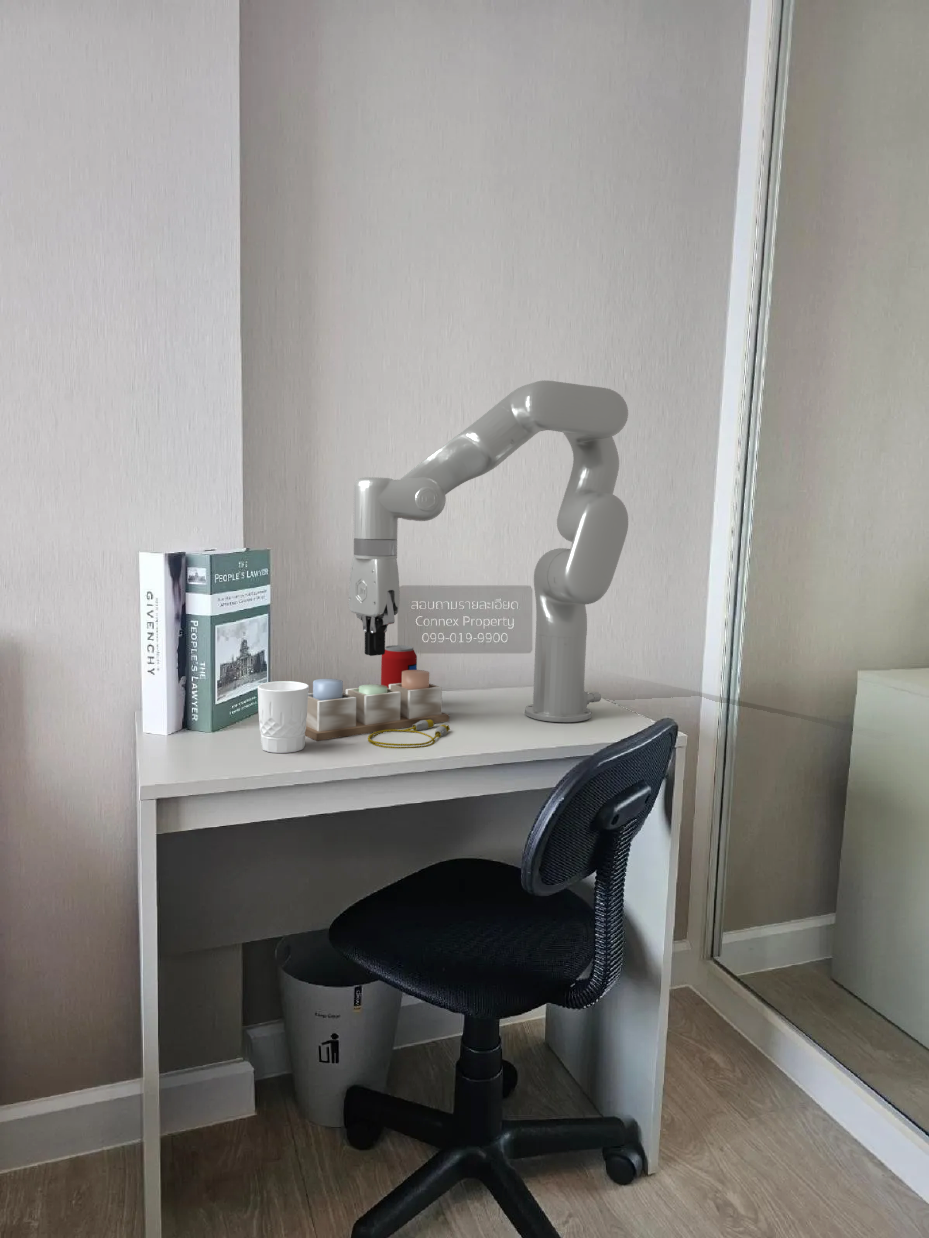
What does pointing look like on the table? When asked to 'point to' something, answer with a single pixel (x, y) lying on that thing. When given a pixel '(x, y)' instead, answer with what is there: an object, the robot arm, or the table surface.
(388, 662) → the beverage can
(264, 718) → the white cup
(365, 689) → the sage green cap
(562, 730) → the table surface
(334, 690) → the slate blue cap
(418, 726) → the extension cord
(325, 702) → the button board
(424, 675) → the pink rounded cylinder
